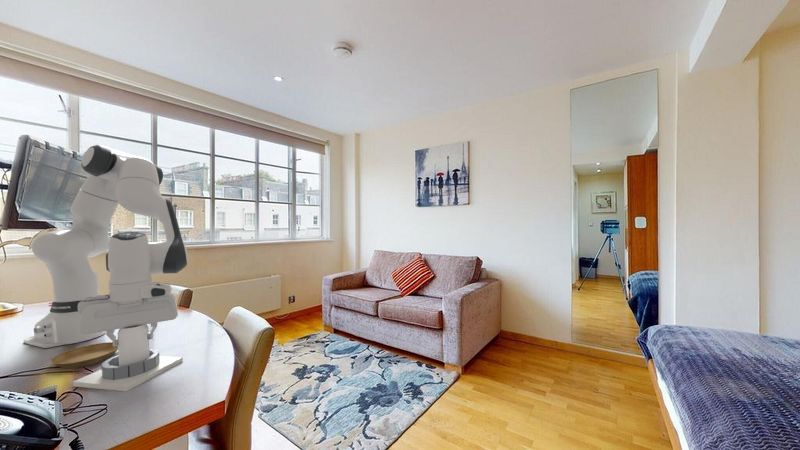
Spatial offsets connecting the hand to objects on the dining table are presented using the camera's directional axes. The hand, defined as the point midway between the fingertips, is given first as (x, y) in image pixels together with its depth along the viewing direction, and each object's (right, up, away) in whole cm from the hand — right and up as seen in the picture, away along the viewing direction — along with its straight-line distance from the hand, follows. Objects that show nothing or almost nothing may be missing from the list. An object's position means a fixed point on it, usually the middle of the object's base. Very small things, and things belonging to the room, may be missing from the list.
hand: (133, 342), depth 84 cm
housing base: (0, -9, 0) cm, 8 cm away
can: (0, -7, +1) cm, 7 cm away
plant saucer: (-21, -9, +9) cm, 25 cm away
